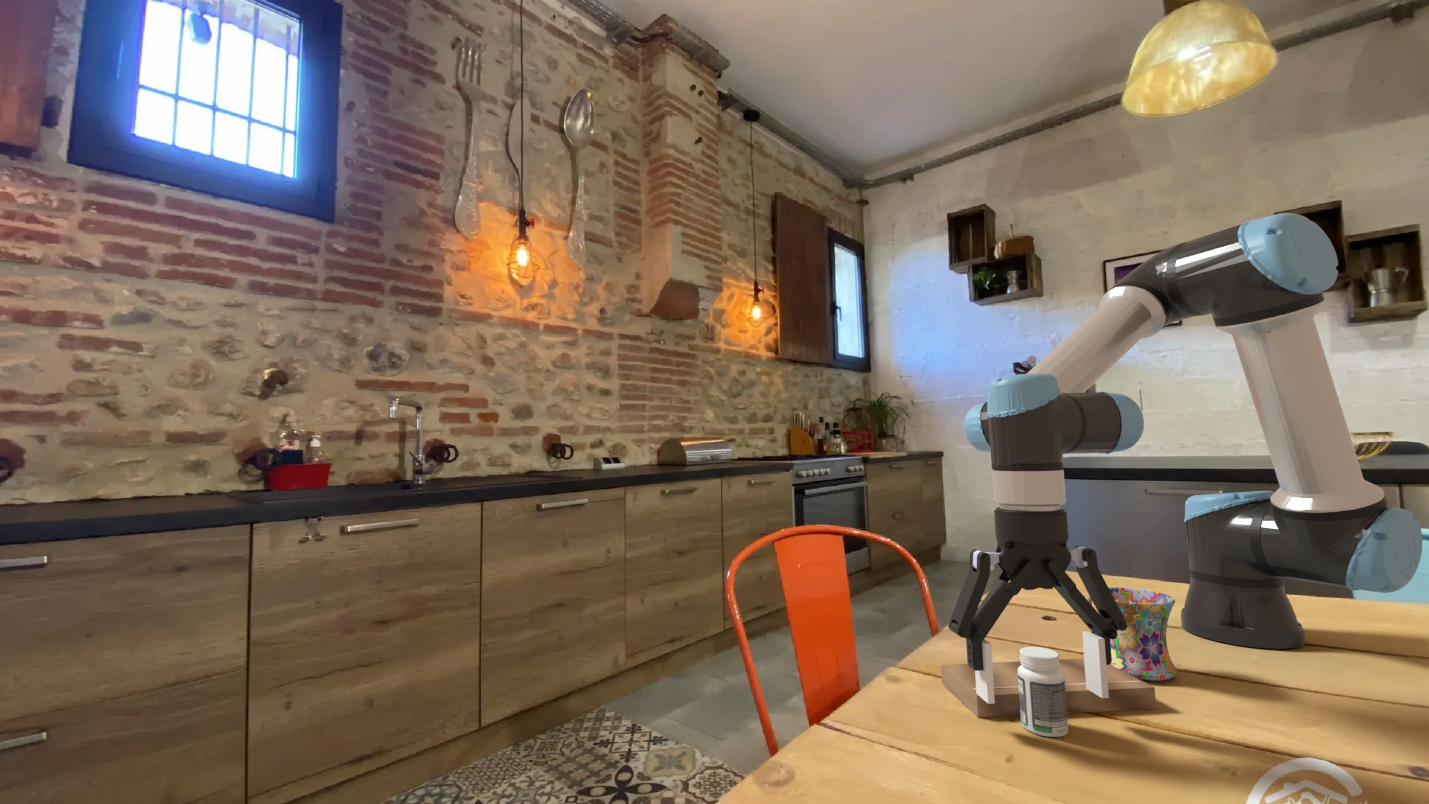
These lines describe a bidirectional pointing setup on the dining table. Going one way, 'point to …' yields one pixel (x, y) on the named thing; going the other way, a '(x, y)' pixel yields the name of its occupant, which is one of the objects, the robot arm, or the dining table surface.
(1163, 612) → the mug
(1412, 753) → the dining table surface
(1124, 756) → the dining table surface
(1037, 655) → the pill bottle
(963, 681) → the board
